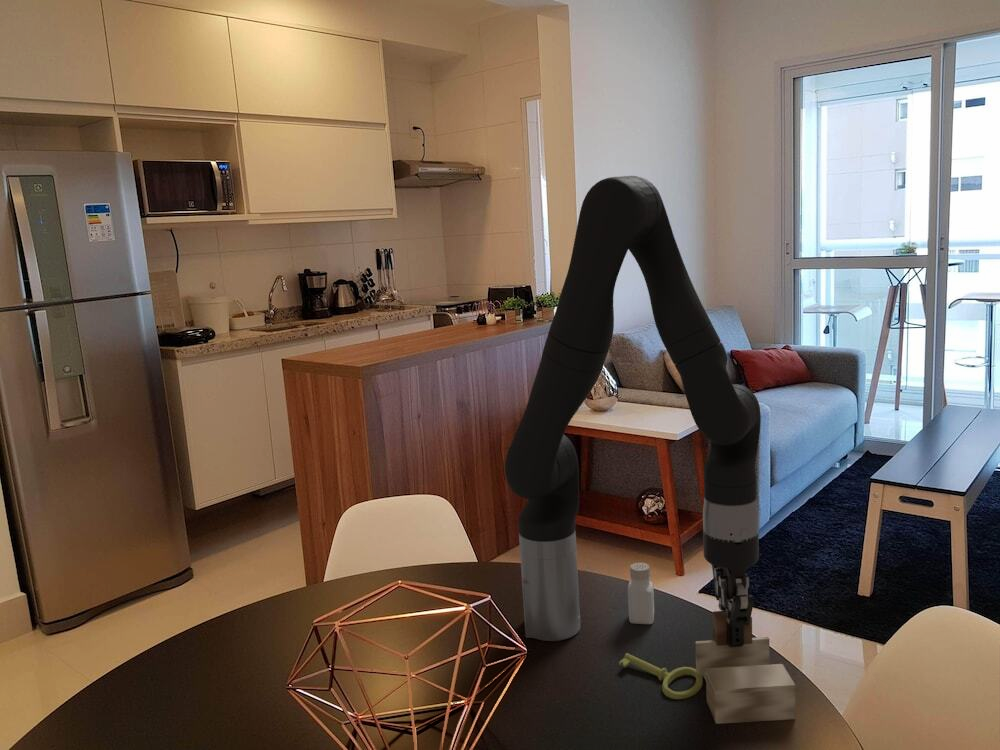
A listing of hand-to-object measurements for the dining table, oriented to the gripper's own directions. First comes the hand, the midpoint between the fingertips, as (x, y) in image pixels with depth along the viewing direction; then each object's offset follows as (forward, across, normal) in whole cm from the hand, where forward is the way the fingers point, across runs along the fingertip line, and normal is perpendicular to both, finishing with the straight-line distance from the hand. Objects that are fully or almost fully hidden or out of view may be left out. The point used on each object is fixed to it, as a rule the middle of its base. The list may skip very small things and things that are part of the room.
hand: (732, 639), depth 118 cm
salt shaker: (+6, -18, -10) cm, 21 cm away
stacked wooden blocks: (+5, +1, 0) cm, 5 cm away
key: (+6, 0, -10) cm, 12 cm away
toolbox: (+6, +8, 0) cm, 10 cm away
